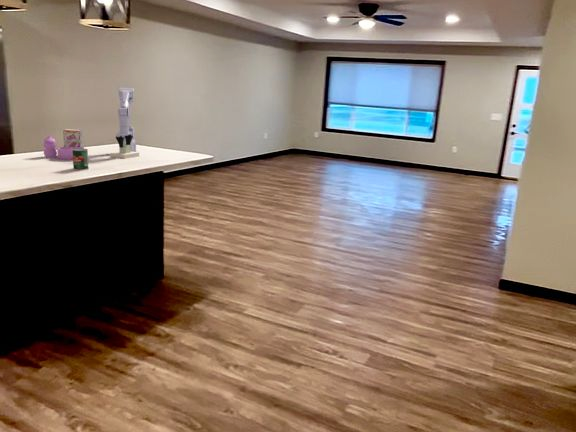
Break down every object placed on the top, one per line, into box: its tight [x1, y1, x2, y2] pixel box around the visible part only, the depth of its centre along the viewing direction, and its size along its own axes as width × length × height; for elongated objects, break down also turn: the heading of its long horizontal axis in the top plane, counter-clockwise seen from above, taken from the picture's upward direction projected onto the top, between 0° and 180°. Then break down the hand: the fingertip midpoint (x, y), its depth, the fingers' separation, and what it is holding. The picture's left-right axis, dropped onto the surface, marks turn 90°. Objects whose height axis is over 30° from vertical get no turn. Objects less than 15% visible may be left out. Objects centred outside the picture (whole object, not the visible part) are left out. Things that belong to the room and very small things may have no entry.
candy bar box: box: [62, 128, 85, 149], centre depth 322 cm, size 11×5×16 cm, turn 84°
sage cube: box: [118, 144, 131, 153], centre depth 330 cm, size 5×5×5 cm
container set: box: [43, 135, 85, 161], centre depth 310 cm, size 25×15×13 cm, turn 84°
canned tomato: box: [72, 148, 89, 171], centre depth 279 cm, size 8×8×11 cm
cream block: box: [109, 151, 140, 159], centre depth 330 cm, size 14×12×3 cm
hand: (124, 147), depth 329 cm, fingers open, 7 cm apart
